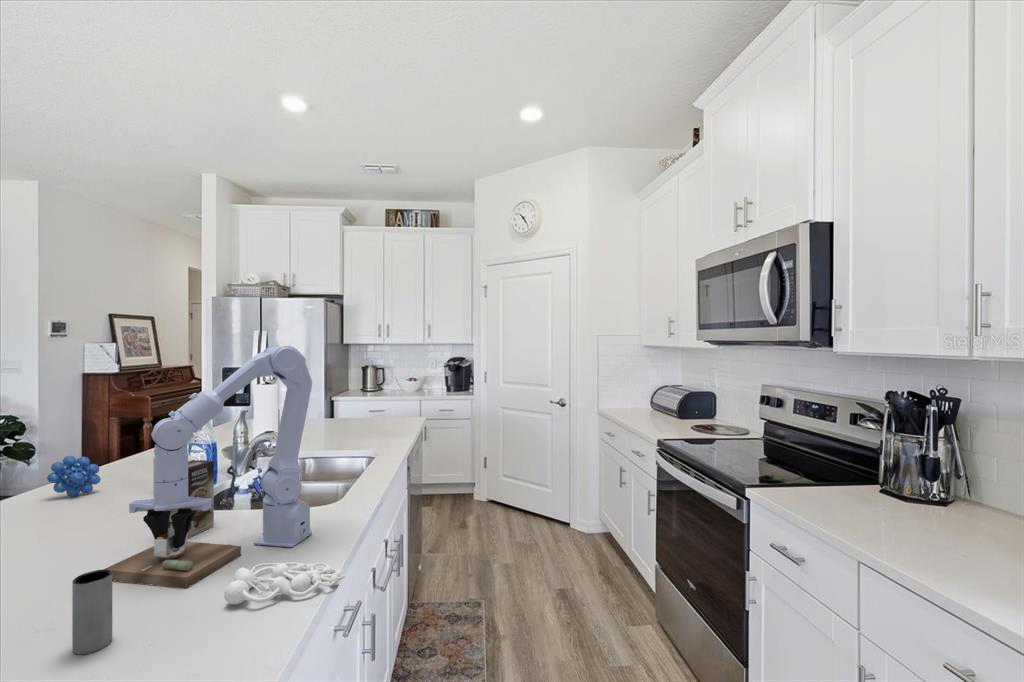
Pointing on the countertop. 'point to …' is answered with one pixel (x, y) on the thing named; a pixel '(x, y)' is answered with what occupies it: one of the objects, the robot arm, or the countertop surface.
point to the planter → (91, 611)
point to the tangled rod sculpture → (280, 581)
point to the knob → (167, 547)
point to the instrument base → (171, 577)
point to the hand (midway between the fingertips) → (171, 546)
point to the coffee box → (199, 495)
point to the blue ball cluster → (74, 476)
